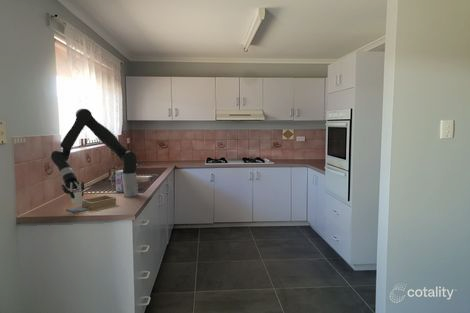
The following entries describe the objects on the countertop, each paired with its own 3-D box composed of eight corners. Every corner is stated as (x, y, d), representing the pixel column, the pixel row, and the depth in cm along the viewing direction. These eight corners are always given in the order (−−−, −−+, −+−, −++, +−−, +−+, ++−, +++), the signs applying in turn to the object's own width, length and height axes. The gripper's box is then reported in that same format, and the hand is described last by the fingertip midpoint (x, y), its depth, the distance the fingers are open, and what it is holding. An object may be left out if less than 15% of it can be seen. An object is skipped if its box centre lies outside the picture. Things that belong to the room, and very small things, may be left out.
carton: (102, 200, 232) (102, 194, 232) (119, 205, 218) (119, 198, 218) (78, 205, 220) (78, 198, 219) (94, 211, 206) (94, 203, 205)
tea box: (78, 201, 211) (78, 189, 210) (82, 203, 208) (81, 190, 207) (71, 203, 208) (70, 190, 207) (75, 204, 205) (74, 191, 204)
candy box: (122, 192, 260) (121, 171, 258) (115, 191, 261) (114, 171, 259) (132, 188, 273) (131, 168, 271) (125, 188, 274) (124, 168, 273)
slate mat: (80, 207, 216) (80, 206, 216) (89, 210, 208) (89, 209, 208) (66, 209, 209) (66, 209, 209) (74, 213, 201) (74, 212, 201)
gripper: (58, 173, 205) (67, 195, 199) (81, 170, 216) (91, 191, 210) (55, 181, 209) (64, 202, 203) (78, 178, 220) (87, 198, 214)
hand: (78, 197), depth 206 cm, fingers closed on tea box, 4 cm apart
